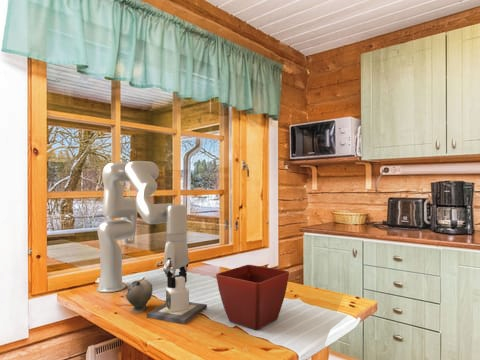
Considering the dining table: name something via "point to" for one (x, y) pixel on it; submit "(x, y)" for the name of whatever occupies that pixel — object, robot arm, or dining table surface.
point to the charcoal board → (177, 313)
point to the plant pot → (252, 294)
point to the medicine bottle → (177, 296)
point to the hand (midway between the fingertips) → (177, 284)
